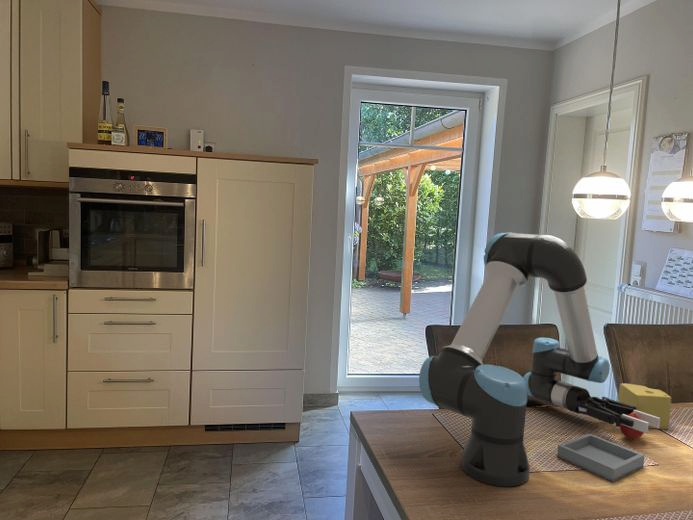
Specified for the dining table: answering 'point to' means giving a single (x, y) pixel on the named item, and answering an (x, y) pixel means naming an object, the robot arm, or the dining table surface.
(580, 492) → the dining table surface
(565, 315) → the robot arm
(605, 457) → the tray
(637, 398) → the cheese
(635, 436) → the onion
